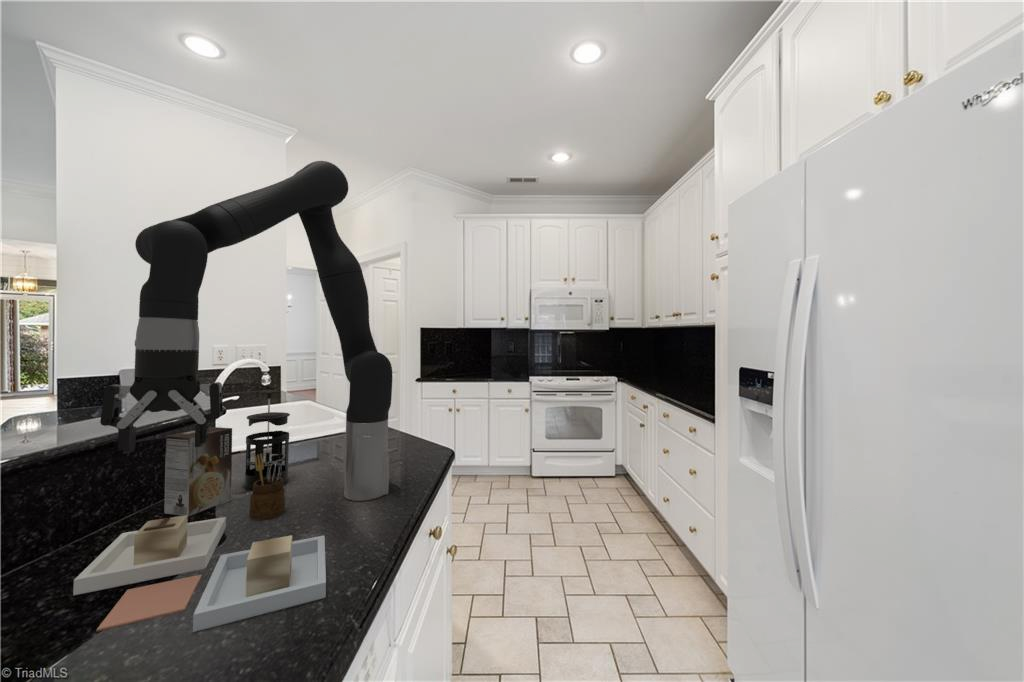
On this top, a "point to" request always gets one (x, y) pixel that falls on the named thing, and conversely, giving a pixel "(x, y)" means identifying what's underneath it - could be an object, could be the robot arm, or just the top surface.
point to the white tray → (120, 568)
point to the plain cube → (269, 565)
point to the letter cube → (160, 540)
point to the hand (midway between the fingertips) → (164, 449)
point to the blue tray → (231, 604)
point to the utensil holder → (267, 495)
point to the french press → (276, 442)
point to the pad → (151, 602)
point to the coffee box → (197, 471)
